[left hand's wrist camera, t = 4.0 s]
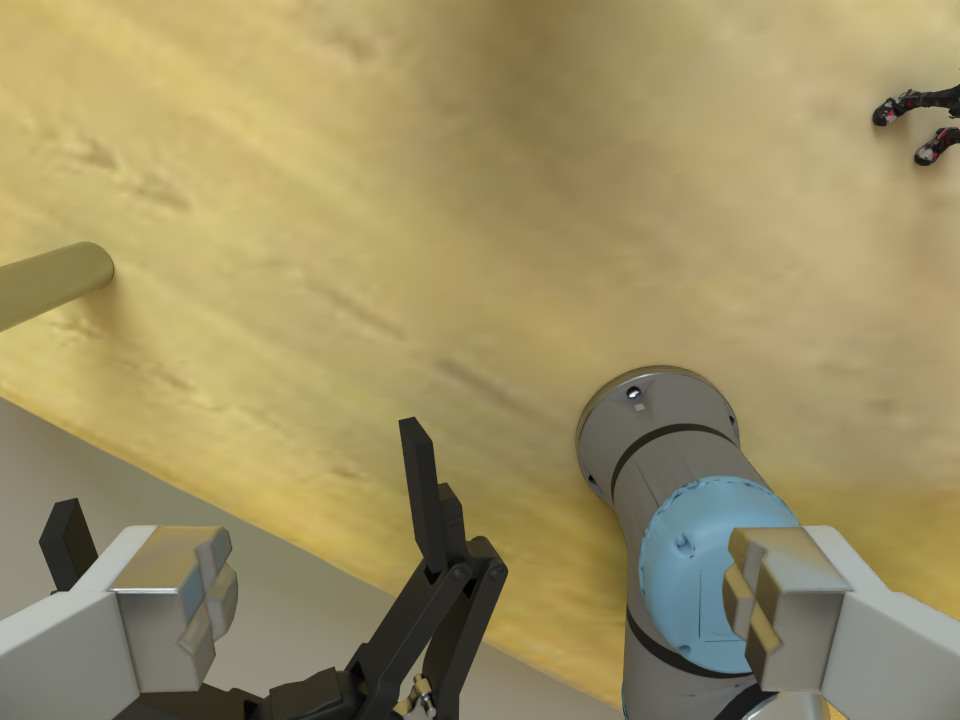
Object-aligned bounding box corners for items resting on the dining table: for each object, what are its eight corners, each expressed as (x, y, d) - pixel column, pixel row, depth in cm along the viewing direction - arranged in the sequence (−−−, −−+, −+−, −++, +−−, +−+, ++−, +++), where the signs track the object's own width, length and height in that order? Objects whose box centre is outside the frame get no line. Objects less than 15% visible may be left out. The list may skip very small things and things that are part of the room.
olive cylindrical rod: (93, 233, 56) (-88, 286, 38) (123, 274, 58) (-37, 344, 40) (56, 255, 57) (-138, 318, 39) (87, 296, 58) (-87, 374, 40)
